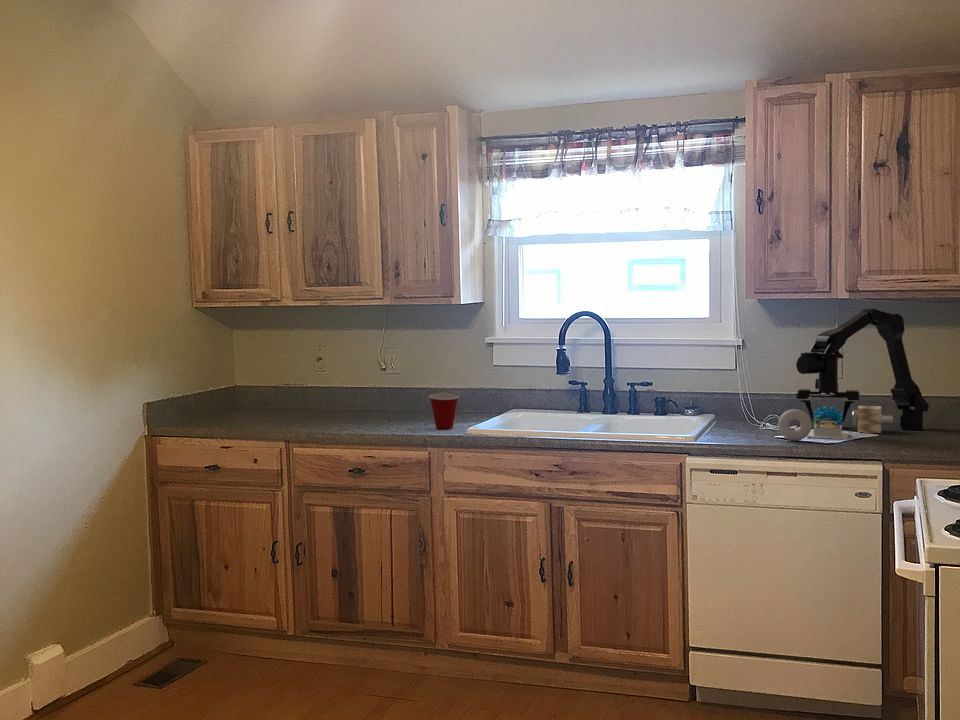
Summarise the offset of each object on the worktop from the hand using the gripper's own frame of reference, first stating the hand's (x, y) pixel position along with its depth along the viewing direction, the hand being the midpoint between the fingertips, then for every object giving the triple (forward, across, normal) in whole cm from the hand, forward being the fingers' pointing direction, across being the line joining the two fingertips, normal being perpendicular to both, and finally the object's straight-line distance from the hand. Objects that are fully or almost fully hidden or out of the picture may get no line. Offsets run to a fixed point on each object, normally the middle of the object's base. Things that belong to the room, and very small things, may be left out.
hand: (827, 421), depth 318 cm
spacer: (+4, 0, 0) cm, 4 cm away
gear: (+5, +1, -22) cm, 23 cm away
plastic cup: (+5, +127, +16) cm, 128 cm away
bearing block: (+5, -12, -14) cm, 19 cm away
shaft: (+3, -13, -14) cm, 19 cm away
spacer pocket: (+5, 0, 0) cm, 5 cm away
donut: (+5, +9, +13) cm, 16 cm away
